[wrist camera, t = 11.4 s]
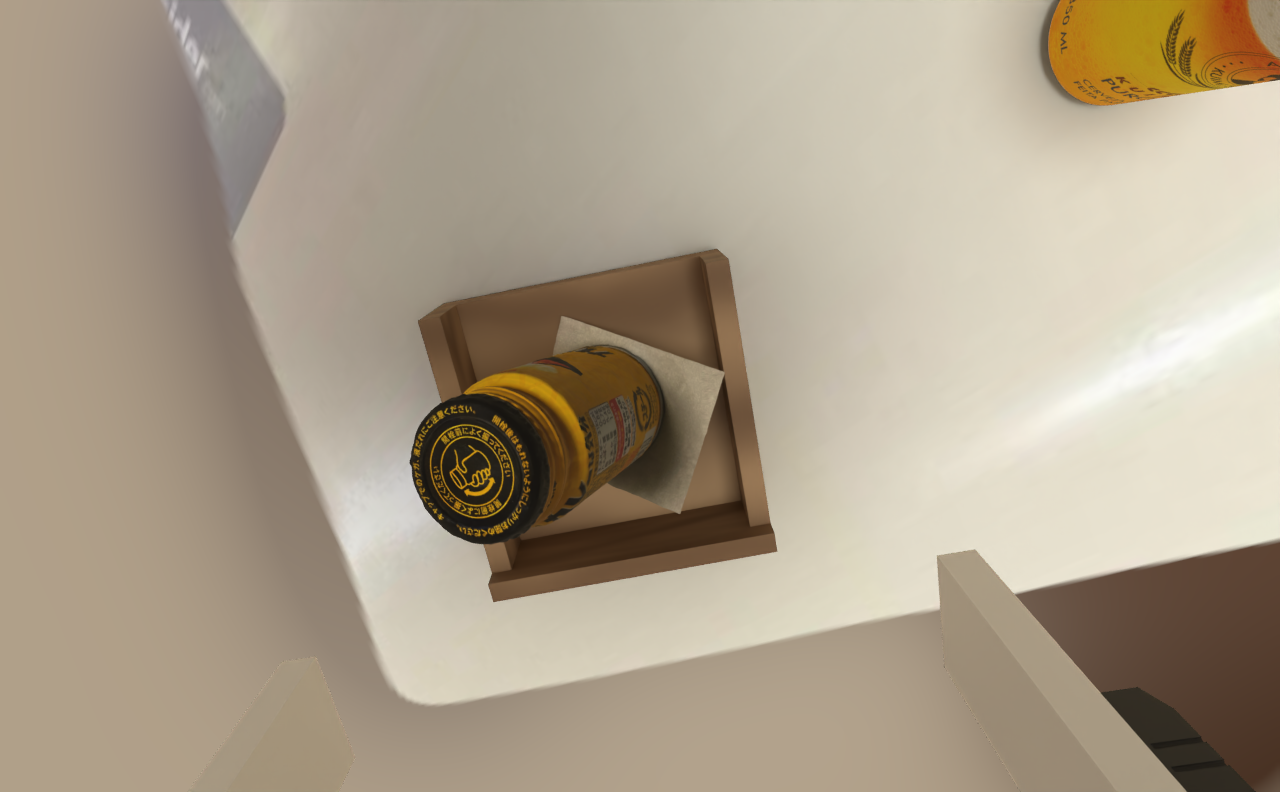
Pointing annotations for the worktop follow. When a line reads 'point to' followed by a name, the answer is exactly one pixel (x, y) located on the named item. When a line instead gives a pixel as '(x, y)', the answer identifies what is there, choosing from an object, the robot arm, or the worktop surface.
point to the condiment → (564, 435)
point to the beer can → (1162, 47)
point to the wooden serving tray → (610, 518)
